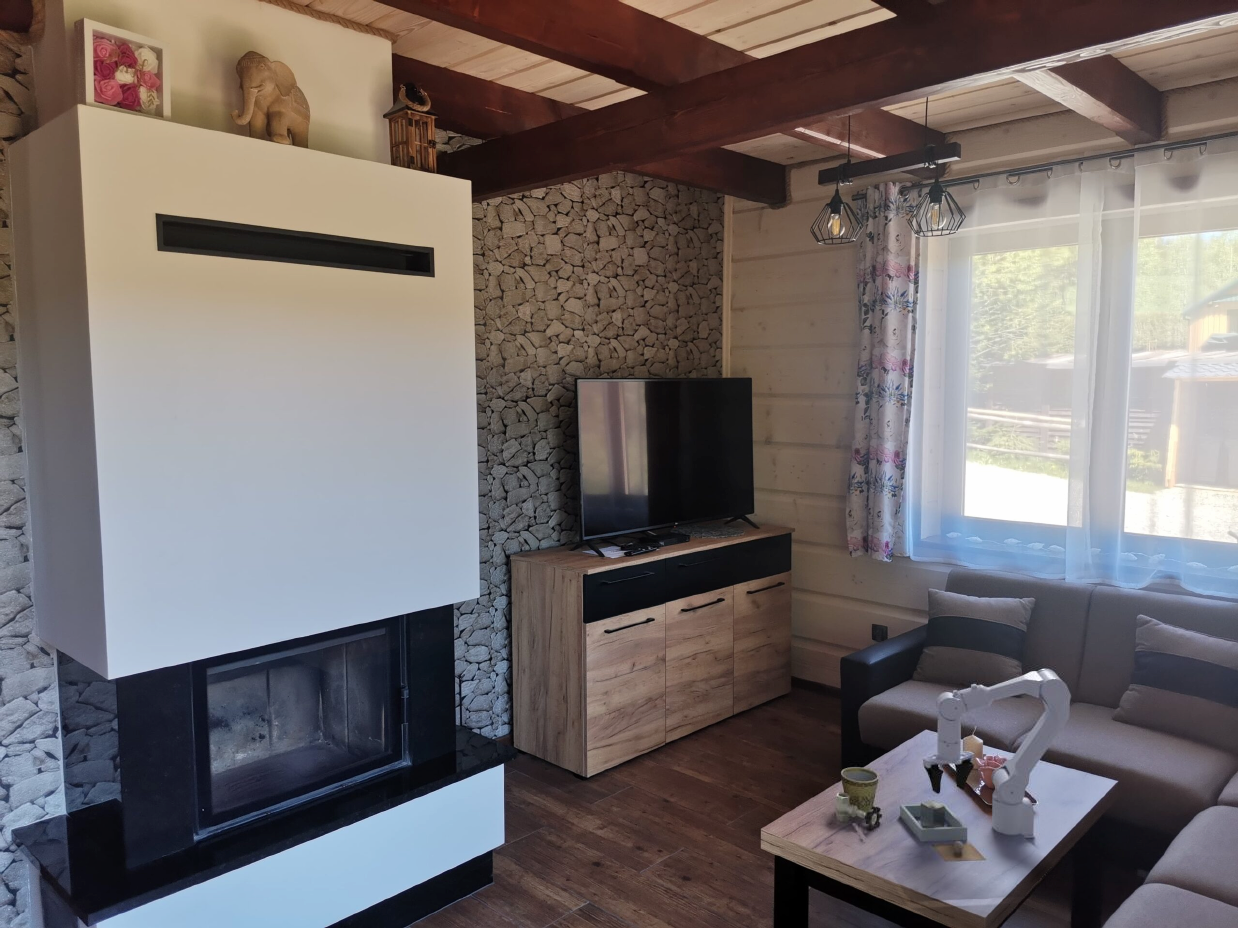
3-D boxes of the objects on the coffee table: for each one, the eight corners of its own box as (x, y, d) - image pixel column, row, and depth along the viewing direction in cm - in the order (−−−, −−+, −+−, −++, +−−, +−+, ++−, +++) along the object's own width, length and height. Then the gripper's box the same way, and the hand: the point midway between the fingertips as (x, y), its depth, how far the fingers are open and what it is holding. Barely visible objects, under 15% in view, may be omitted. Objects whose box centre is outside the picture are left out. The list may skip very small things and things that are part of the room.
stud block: (970, 846, 219) (970, 832, 219) (985, 863, 211) (986, 848, 211) (931, 848, 218) (932, 834, 218) (945, 865, 211) (945, 850, 210)
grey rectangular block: (932, 823, 230) (932, 799, 230) (944, 830, 227) (944, 805, 226) (920, 826, 229) (920, 802, 228) (932, 833, 225) (933, 809, 224)
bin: (943, 817, 235) (943, 803, 235) (967, 843, 221) (967, 827, 221) (899, 819, 234) (900, 804, 234) (920, 844, 220) (921, 829, 220)
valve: (829, 820, 235) (868, 835, 226) (829, 796, 234) (868, 811, 225) (843, 812, 239) (882, 827, 230) (843, 788, 239) (882, 803, 230)
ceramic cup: (870, 821, 233) (870, 784, 233) (834, 811, 239) (835, 775, 239) (887, 803, 244) (887, 768, 243) (853, 794, 250) (853, 760, 249)
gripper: (935, 748, 223) (934, 800, 223) (982, 741, 227) (981, 792, 228) (918, 738, 229) (917, 788, 230) (964, 732, 234) (963, 781, 234)
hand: (948, 789), depth 229 cm, fingers open, 7 cm apart
